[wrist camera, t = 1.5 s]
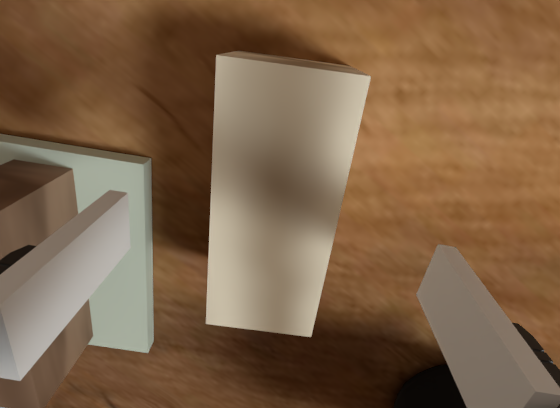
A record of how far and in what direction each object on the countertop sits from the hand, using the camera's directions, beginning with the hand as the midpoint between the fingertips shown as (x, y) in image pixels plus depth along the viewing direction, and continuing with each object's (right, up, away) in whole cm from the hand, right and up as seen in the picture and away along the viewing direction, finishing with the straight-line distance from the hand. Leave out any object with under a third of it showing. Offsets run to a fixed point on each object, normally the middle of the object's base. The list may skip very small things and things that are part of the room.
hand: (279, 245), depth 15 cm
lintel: (0, +3, +7) cm, 8 cm away
